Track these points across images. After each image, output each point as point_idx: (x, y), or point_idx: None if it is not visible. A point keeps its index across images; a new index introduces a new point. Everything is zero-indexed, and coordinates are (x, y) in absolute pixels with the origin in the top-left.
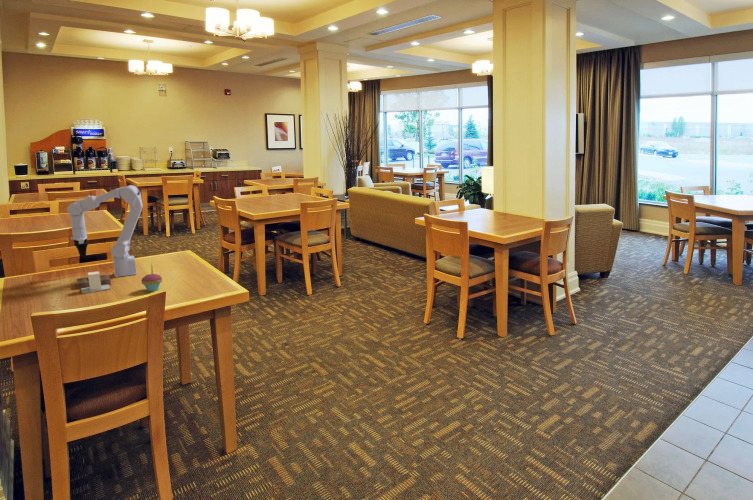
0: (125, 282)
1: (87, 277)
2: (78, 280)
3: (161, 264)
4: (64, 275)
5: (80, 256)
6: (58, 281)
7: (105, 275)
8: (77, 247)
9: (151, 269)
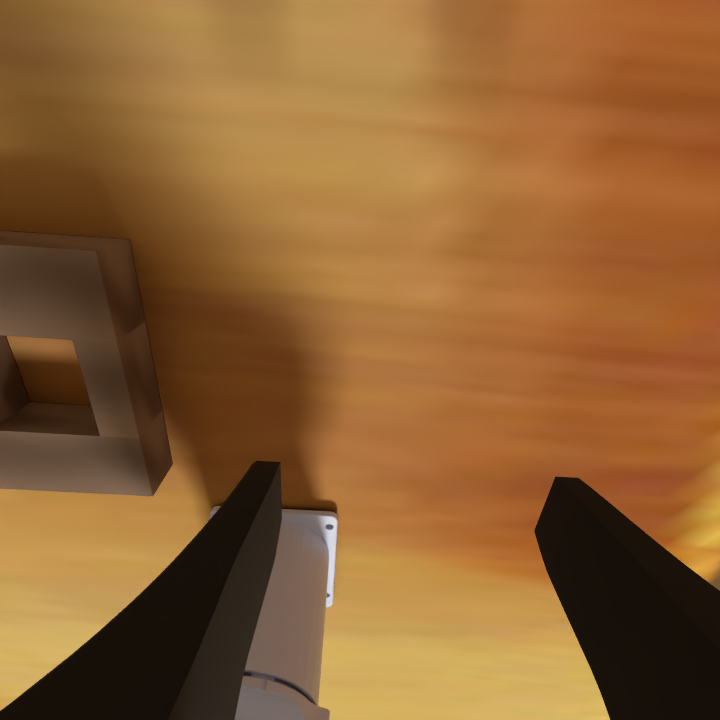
0: (45, 527)
1: (112, 351)
2: (8, 259)
3: (393, 695)
4: (595, 157)
5: (244, 477)
6: (352, 54)
7: (128, 477)
8: (19, 711)
9: None
